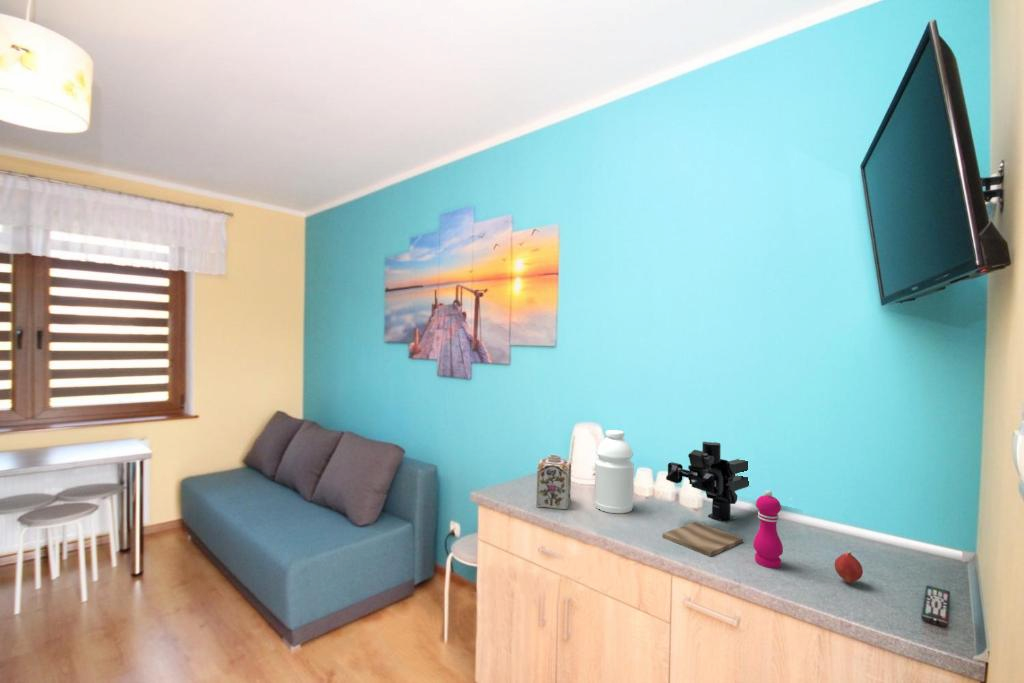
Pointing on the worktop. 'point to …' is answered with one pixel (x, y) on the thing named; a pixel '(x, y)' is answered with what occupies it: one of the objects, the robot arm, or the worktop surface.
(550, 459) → the decorative jar
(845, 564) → the onion
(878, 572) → the worktop surface
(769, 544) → the pepper mill
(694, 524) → the tan cloth
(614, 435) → the bottle
